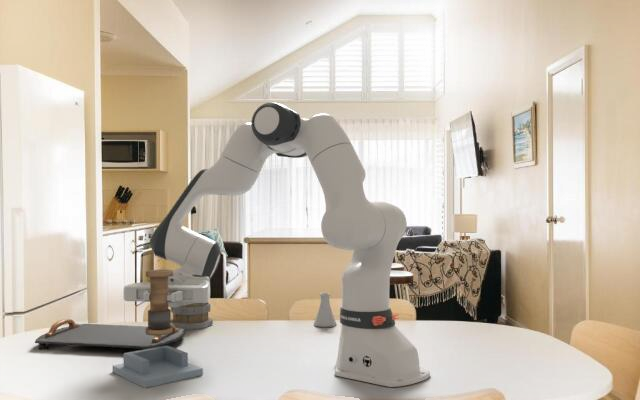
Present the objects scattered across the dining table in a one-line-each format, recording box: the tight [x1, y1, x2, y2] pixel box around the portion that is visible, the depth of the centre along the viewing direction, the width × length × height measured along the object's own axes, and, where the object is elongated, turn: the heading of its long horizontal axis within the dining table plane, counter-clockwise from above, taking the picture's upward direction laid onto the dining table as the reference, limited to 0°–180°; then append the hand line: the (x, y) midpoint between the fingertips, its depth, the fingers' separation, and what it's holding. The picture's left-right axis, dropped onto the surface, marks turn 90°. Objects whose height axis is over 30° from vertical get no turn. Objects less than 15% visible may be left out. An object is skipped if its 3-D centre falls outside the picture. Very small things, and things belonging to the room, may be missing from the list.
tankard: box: [170, 302, 214, 331], centre depth 195 cm, size 20×13×15 cm, turn 162°
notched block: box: [112, 345, 204, 389], centre depth 139 cm, size 16×14×4 cm
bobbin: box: [145, 269, 173, 336], centre depth 140 cm, size 6×6×14 cm
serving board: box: [34, 318, 187, 350], centre depth 169 cm, size 39×23×6 cm, turn 79°
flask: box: [313, 292, 338, 328], centre depth 192 cm, size 7×7×10 cm
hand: (158, 298), depth 139 cm, fingers closed on bobbin, 4 cm apart
